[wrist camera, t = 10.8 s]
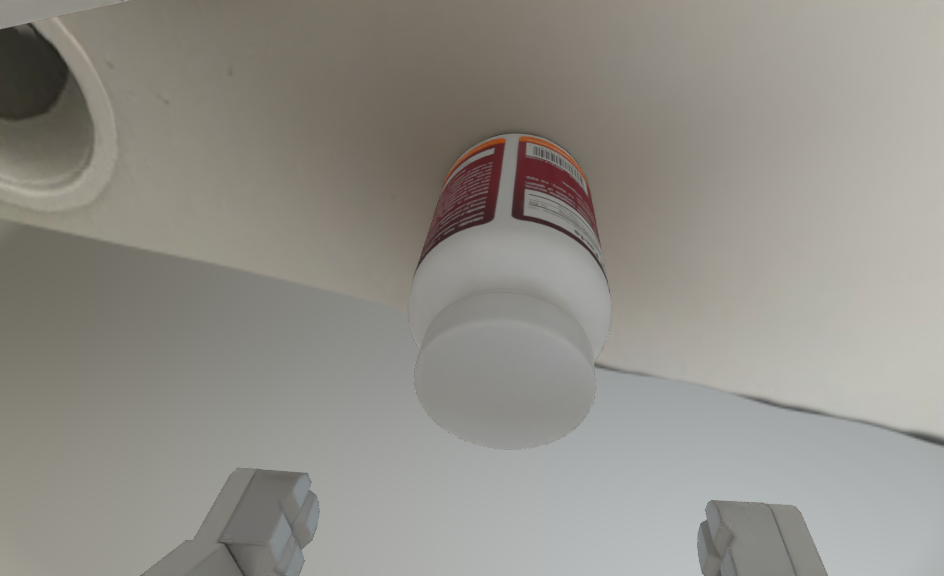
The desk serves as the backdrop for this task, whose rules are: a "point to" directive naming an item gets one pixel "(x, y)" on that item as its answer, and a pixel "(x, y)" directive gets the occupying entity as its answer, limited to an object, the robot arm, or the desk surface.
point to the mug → (44, 9)
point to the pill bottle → (510, 297)
